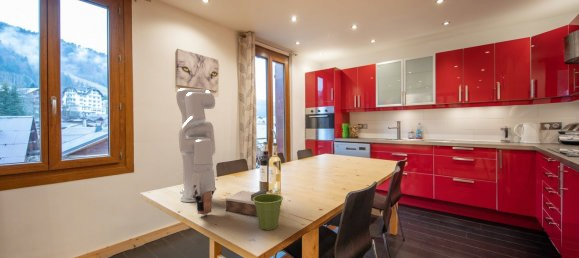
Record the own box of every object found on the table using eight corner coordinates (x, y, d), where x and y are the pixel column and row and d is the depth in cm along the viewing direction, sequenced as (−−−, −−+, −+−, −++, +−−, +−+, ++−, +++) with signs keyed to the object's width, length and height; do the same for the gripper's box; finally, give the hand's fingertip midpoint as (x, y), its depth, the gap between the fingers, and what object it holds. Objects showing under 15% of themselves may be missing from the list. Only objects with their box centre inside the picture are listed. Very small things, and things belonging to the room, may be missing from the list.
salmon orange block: (197, 213, 104) (197, 190, 104) (204, 210, 107) (204, 188, 107) (204, 215, 102) (204, 191, 102) (211, 211, 106) (211, 189, 105)
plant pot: (289, 225, 94) (289, 197, 94) (267, 236, 85) (267, 205, 85) (269, 218, 102) (268, 191, 101) (246, 227, 93) (246, 198, 93)
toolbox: (225, 211, 110) (225, 200, 110) (242, 202, 122) (242, 193, 122) (259, 217, 102) (258, 206, 102) (273, 207, 114) (273, 197, 114)
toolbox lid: (225, 200, 110) (225, 192, 110) (242, 192, 122) (242, 185, 121) (258, 205, 102) (258, 197, 102) (273, 196, 114) (273, 189, 114)
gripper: (210, 163, 113) (211, 202, 114) (181, 170, 98) (182, 214, 99) (223, 164, 110) (224, 204, 111) (194, 171, 95) (195, 217, 96)
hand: (204, 208), depth 105 cm, fingers closed on salmon orange block, 3 cm apart
